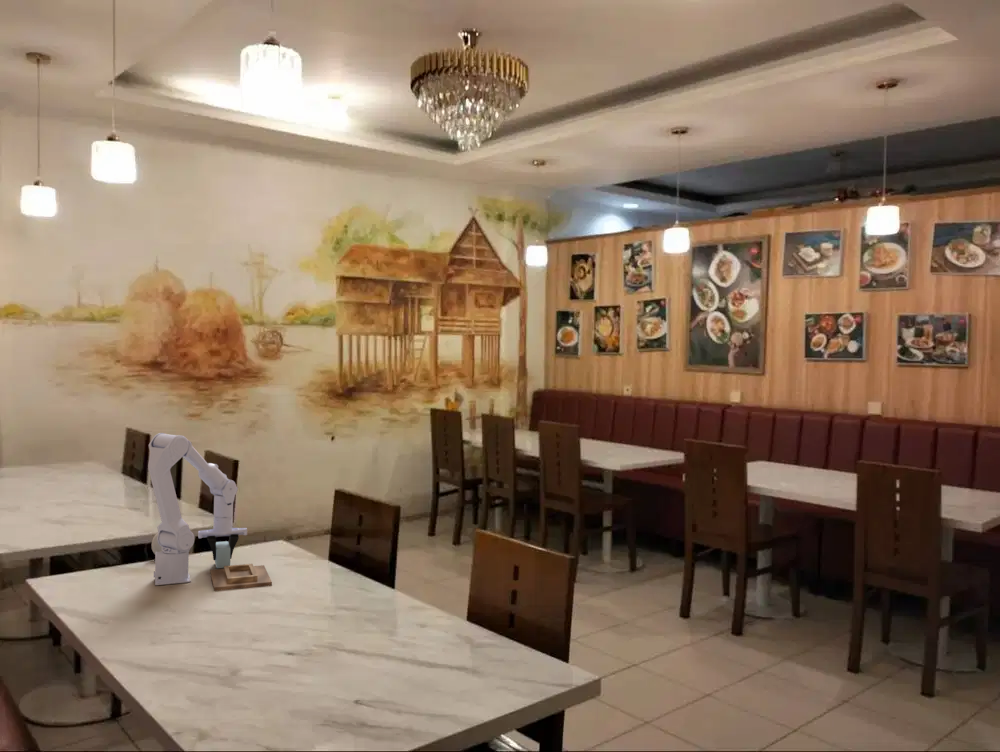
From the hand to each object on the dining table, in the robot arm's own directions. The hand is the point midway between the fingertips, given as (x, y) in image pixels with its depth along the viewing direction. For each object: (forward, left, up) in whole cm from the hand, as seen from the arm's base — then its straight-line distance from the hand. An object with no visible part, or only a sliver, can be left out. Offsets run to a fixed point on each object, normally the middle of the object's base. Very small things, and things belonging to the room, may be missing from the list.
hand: (222, 558), depth 238 cm
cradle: (+4, -15, -3) cm, 16 cm away
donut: (-16, +16, -3) cm, 23 cm away
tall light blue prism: (0, 0, -2) cm, 2 cm away
